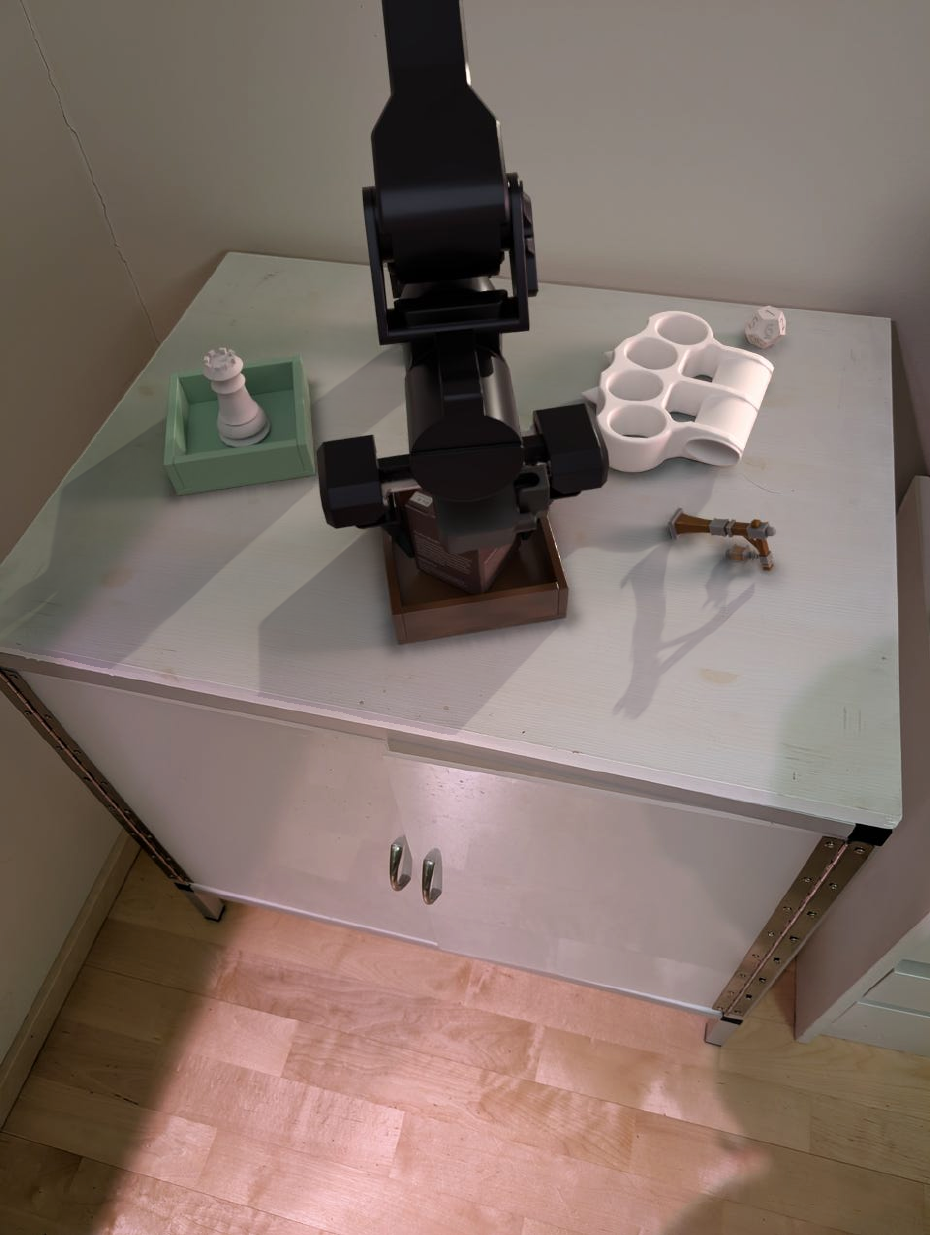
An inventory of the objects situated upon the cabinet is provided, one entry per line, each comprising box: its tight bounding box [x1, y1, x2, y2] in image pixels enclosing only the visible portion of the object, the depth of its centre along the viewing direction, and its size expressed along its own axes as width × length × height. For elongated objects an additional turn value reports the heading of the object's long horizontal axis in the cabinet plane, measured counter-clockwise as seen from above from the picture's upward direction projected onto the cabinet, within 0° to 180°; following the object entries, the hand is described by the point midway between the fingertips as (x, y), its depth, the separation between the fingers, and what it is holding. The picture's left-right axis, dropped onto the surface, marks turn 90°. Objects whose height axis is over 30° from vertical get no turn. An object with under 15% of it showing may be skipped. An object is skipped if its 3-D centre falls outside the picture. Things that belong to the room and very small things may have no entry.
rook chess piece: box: [202, 347, 270, 448], centre depth 70 cm, size 4×4×8 cm
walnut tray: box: [379, 489, 570, 645], centre depth 63 cm, size 12×12×4 cm
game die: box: [745, 304, 787, 350], centre depth 76 cm, size 4×4×3 cm
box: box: [405, 488, 521, 595], centre depth 60 cm, size 6×6×7 cm
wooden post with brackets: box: [667, 506, 777, 572], centre depth 62 cm, size 2×8×4 cm, turn 55°
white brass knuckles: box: [579, 310, 775, 473], centre depth 72 cm, size 3×18×15 cm
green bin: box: [162, 354, 316, 496], centre depth 72 cm, size 12×12×4 cm
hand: (467, 544), depth 62 cm, fingers closed on box, 8 cm apart
